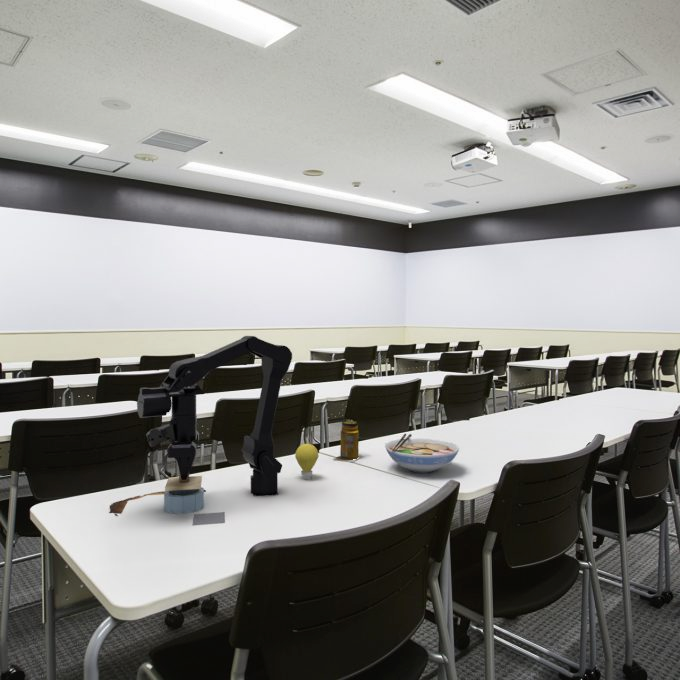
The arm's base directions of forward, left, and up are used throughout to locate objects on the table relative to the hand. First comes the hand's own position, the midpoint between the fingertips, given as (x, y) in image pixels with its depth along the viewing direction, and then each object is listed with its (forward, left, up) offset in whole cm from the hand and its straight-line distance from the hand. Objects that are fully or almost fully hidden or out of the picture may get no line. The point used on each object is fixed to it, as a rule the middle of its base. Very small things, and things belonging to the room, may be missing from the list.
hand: (184, 478), depth 131 cm
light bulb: (-33, -20, -8) cm, 39 cm away
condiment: (-50, -40, -8) cm, 64 cm away
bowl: (0, 0, -8) cm, 8 cm away
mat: (-6, +9, -8) cm, 13 cm away
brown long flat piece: (+7, -8, -8) cm, 13 cm away
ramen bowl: (-69, -22, -8) cm, 73 cm away
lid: (0, 0, -2) cm, 2 cm away
